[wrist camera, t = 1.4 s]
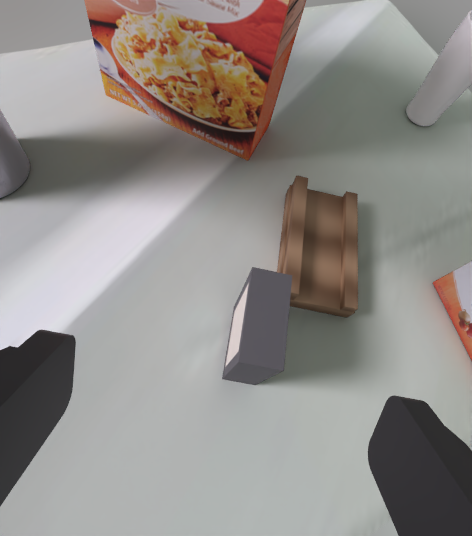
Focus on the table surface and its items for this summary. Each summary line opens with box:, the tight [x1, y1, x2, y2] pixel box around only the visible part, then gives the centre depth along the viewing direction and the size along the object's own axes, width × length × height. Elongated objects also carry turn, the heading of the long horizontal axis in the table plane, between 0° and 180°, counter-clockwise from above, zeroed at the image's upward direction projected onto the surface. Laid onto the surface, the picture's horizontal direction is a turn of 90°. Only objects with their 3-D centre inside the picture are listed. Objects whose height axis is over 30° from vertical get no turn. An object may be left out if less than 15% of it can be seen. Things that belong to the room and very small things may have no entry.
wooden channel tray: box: [277, 176, 358, 317], centre depth 41 cm, size 16×9×4 cm, turn 171°
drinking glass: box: [406, 10, 472, 126], centre depth 51 cm, size 7×7×15 cm
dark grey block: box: [222, 267, 292, 385], centre depth 32 cm, size 8×4×11 cm, turn 171°
